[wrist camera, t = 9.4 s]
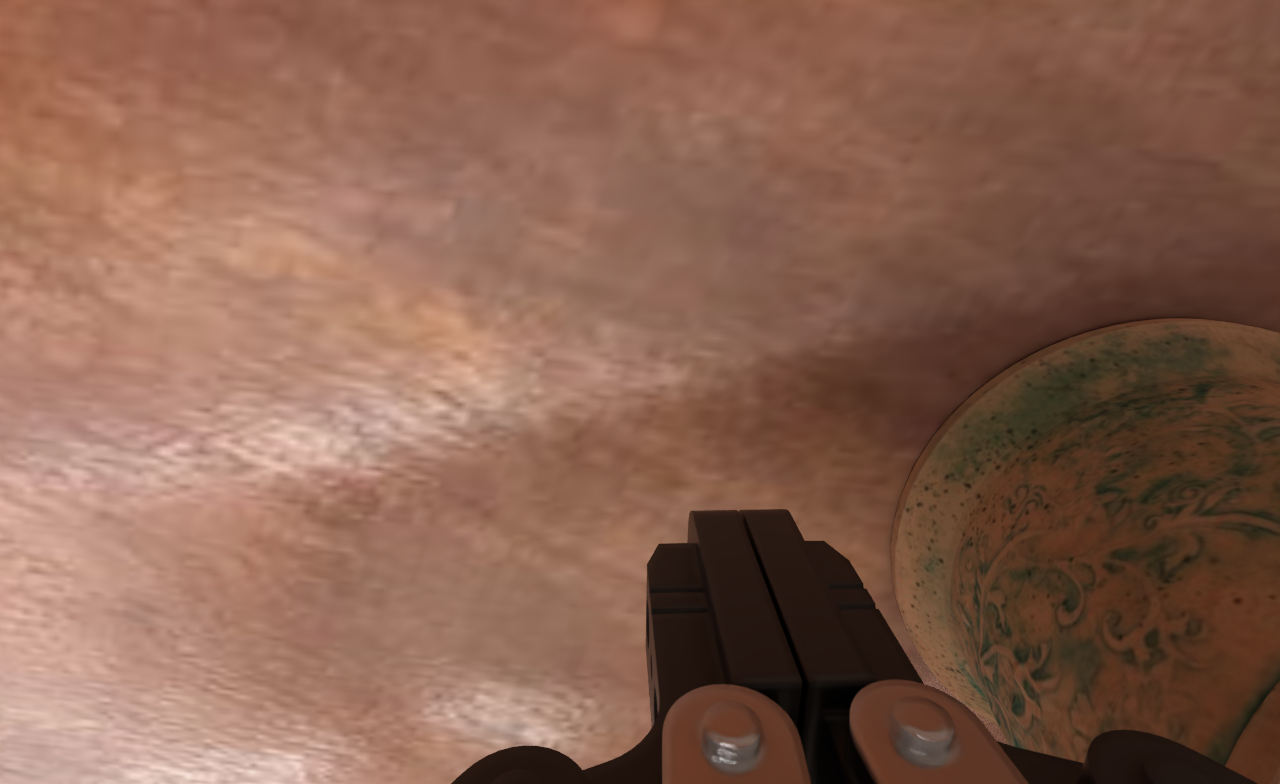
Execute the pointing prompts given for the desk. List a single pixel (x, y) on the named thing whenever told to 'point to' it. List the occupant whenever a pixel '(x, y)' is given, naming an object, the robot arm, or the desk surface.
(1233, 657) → the mug
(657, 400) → the desk surface
